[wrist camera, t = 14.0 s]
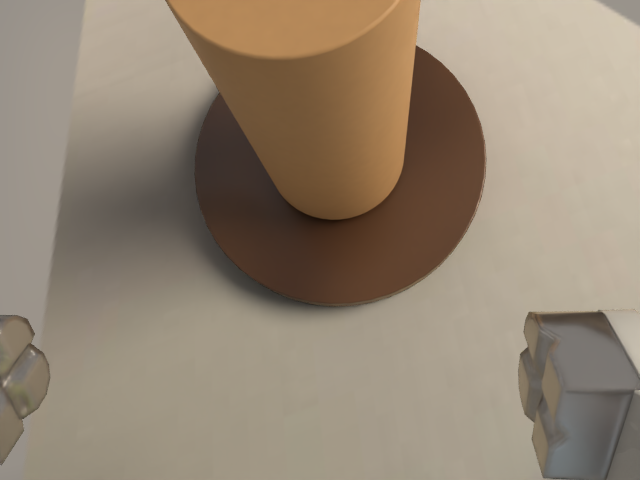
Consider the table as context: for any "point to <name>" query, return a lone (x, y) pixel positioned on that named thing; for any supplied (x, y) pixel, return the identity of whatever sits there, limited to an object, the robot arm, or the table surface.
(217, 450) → the table surface
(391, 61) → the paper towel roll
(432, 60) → the disc
